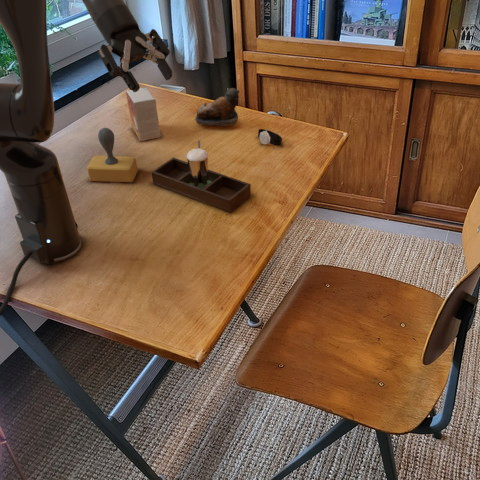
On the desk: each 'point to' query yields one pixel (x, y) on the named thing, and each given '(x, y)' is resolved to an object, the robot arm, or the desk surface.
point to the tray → (215, 193)
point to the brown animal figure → (219, 110)
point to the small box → (143, 114)
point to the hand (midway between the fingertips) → (153, 84)
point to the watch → (269, 137)
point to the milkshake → (198, 166)
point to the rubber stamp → (111, 162)
